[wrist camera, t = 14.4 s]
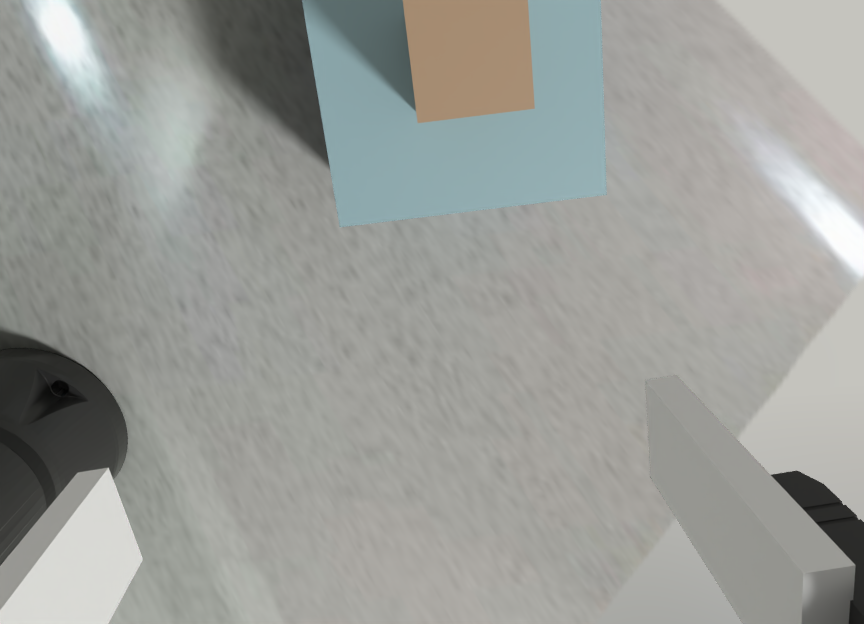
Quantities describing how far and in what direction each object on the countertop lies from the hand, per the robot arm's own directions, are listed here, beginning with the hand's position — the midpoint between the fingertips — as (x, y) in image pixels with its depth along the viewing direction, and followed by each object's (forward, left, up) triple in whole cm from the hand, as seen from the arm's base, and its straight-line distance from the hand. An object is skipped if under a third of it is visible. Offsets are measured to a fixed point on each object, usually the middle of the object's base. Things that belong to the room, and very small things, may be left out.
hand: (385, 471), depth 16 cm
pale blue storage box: (+4, +10, -37) cm, 38 cm away
